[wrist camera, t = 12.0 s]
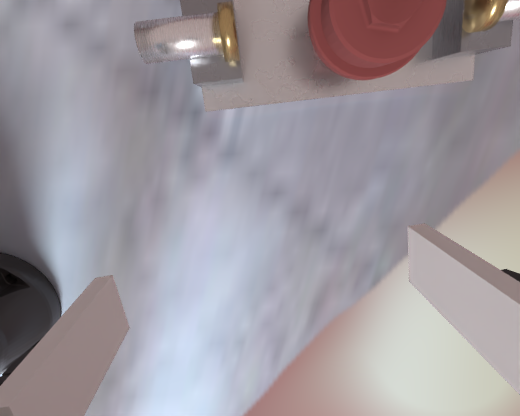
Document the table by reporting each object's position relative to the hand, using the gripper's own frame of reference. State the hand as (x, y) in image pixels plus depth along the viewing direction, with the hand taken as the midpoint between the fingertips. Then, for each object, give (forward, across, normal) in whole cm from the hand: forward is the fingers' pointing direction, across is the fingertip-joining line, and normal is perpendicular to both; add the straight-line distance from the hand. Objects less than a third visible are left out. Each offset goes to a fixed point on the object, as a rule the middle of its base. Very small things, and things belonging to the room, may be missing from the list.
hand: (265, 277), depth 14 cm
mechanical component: (+24, +12, +13) cm, 30 cm away
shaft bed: (+25, +11, +13) cm, 30 cm away
